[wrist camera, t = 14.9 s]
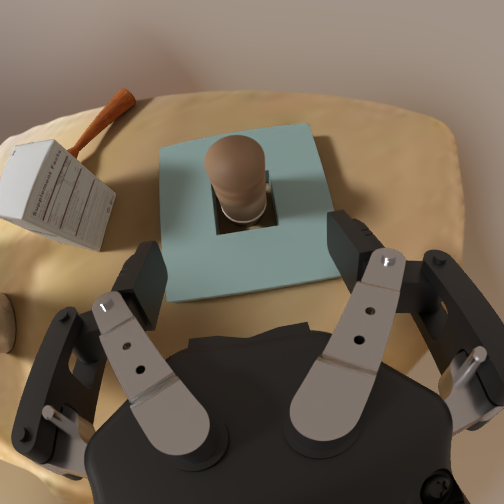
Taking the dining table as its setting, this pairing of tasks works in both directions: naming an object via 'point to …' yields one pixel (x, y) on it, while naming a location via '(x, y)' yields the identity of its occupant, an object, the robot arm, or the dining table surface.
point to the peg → (238, 178)
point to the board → (251, 241)
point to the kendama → (105, 118)
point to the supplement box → (55, 195)
